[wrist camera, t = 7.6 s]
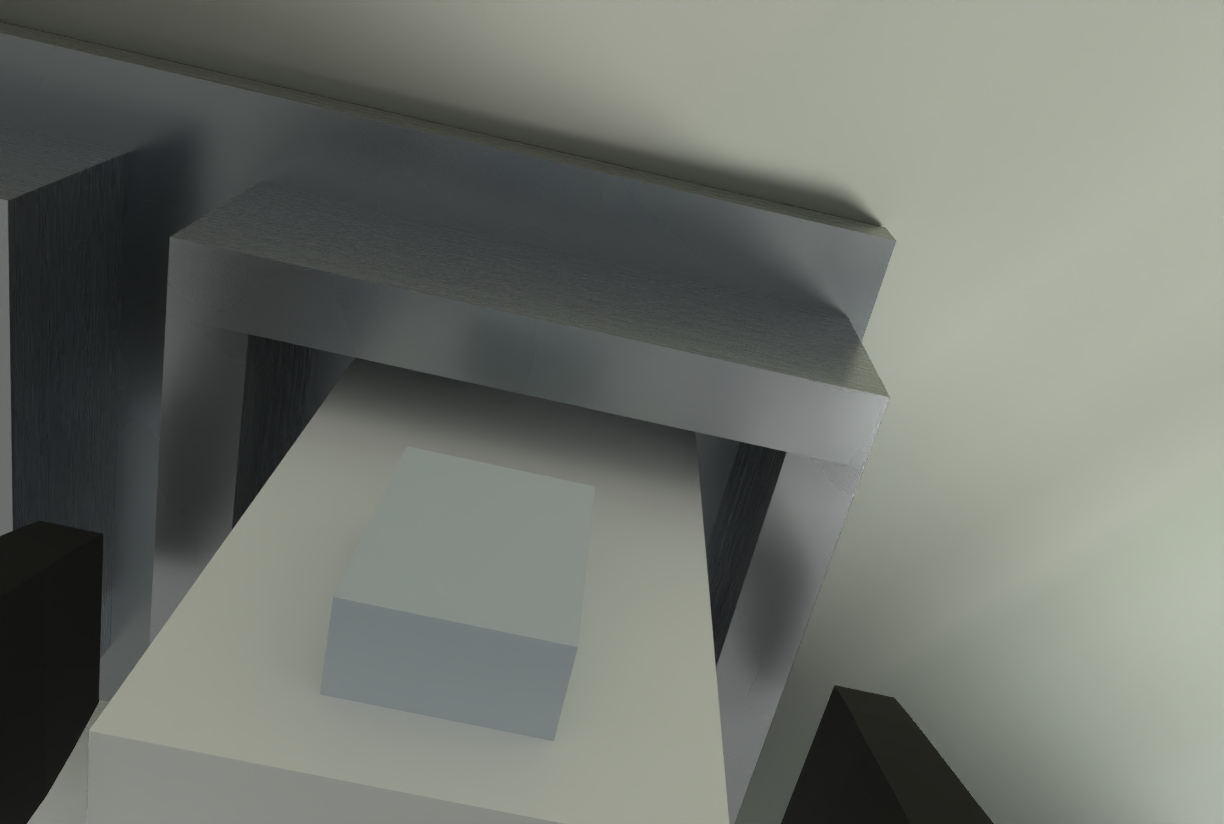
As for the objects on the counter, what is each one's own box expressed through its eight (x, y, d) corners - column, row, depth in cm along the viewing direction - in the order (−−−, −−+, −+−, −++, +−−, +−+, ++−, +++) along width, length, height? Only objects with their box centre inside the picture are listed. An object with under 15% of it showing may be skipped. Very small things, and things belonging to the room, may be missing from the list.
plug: (620, 662, 15) (596, 1225, 8) (334, 604, 14) (80, 1135, 8) (709, 346, 13) (767, 760, 6) (381, 271, 12) (92, 623, 6)
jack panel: (696, 787, 16) (704, 959, 14) (-373, 575, 15) (-596, 713, 13) (885, 227, 13) (950, 308, 10) (-504, -96, 12) (-858, -107, 9)
